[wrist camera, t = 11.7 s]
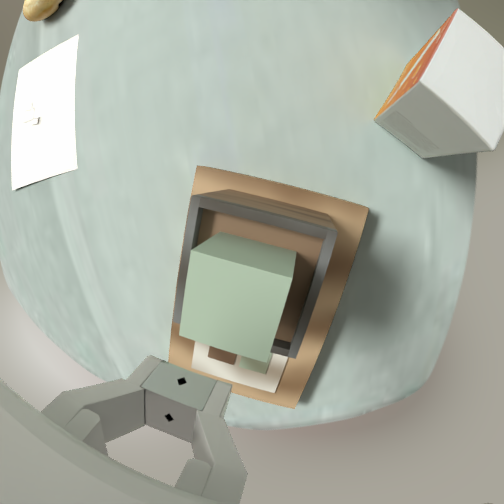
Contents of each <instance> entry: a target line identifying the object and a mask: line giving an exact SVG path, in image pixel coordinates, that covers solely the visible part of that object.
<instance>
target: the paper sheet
mask: <svg viewBox="0 0 504 504" xmlns="http://www.w3.org/2000/svg"><path fill="white" fill-rule="evenodd" d="M78 37H79V34H78V35H76V36H74V37H72V38H71V39H69V40H67V41H65V42H63V43H61V44H60V45H58V46H56V47H54V48H52V49H51V50H49V51H47V52H46V53H44V54H42V55H41V56H39V57H38V58H36V59H34V60H33V61H31V62H30V63H28V64H27V65H25V66H24V67H22V68H21V69H20V70H19V74H18V80H17V87H16V94H15V103H14V113H13V126H12V150H11V169H12V190H15V189H17V188H20V187H23V186H25V185H28V184H31V183H34V182H37V181H40V180H43V179H46V178H49V177H52V176H55V175H59V174H62V173H65V172H69V171H72V170H75V169H77V157H76V141H75V72H76V57H77V46H78Z"/></svg>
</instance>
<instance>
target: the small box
mask: <svg viewBox="0 0 504 504" xmlns="http://www.w3.org/2000/svg"><path fill="white" fill-rule="evenodd" d="M374 121H375V122H376V123H377V124H379V125H380V126H382V127H383V128H384V129H386V130H387V131H389V132H390V133H391V134H393V135H394V136H395V137H397V138H398V139H399V140H400V141H402V142H403V143H404V144H405V145H407V146H408V147H409V148H410V149H412V150H413V151H414V152H415V153H416V154H418V155H419V156H420V157H421V158H431V157H439V156H447V155H456V154H465V153H474V152H484V151H494V150H495V149H496V147H497V145H498V143H499V140H500V138H501V136H502V134H503V132H504V47H503V46H501V45H500V44H499V43H498V42H497V41H496V40H495V39H494V38H493V37H492V36H491V35H490V34H489V33H487V31H486V30H484V29H483V28H482V27H481V26H480V25H479V24H477V23H476V22H475V21H474V20H472V19H471V18H470V17H469V16H467V15H466V14H465V13H464V12H462V11H461V10H460V9H456V10H455V11H454V12H453V14H452V15H451V16H450V17H449V18H448V19H447V20H446V22H445V23H444V24H443V25H442V26H441V27H440V28H439V29H438V30H437V32H436V33H435V34H434V35H433V36H432V37H431V38H430V39H429V40H428V42H427V43H426V44H425V45H424V46H423V47H422V48H421V50H420V51H419V52H418V53H417V54H416V55H415V56H414V57H413V58H412V59H411V60H410V62H409V63H408V64H407V65H406V67H405V69H404V71H403V73H402V75H401V76H400V78H399V80H398V82H397V83H396V85H395V87H394V88H393V90H392V92H391V93H390V95H389V96H388V98H387V100H386V101H385V103H384V104H383V106H382V108H381V109H380V111H379V112H378V114H377V115H376V117H375V118H374Z"/></svg>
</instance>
